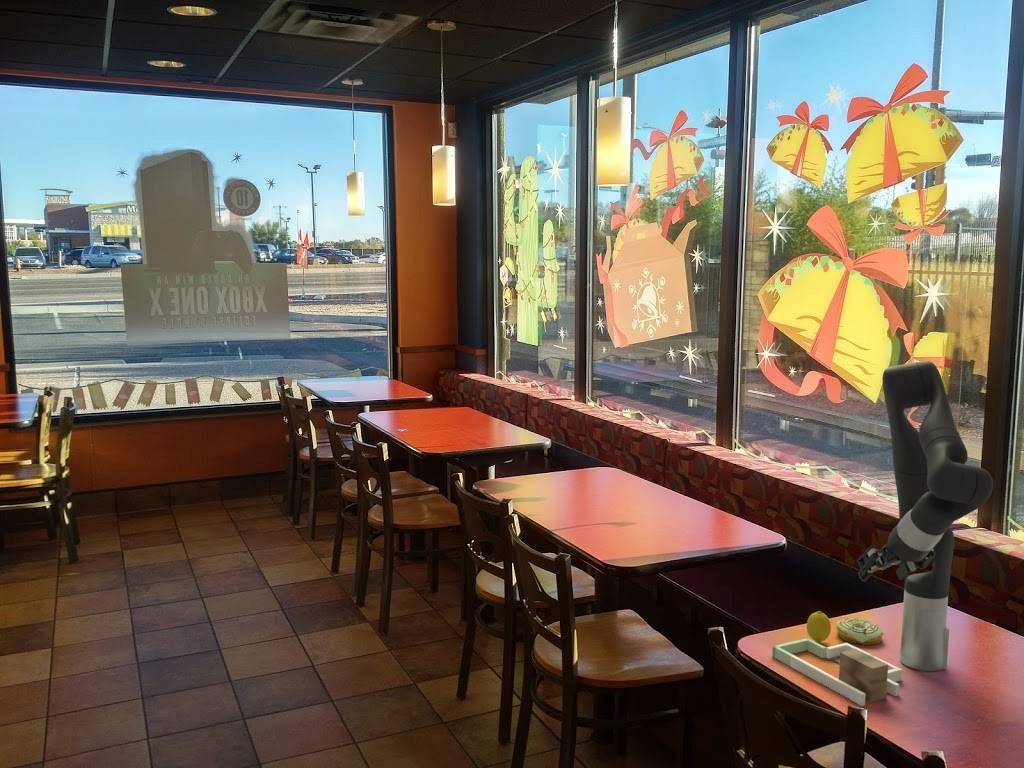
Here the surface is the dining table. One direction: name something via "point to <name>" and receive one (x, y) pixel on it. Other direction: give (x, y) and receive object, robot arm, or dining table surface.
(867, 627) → the decorated donut
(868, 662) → the block
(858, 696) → the box
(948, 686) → the dining table surface
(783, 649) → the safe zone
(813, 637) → the lemon
